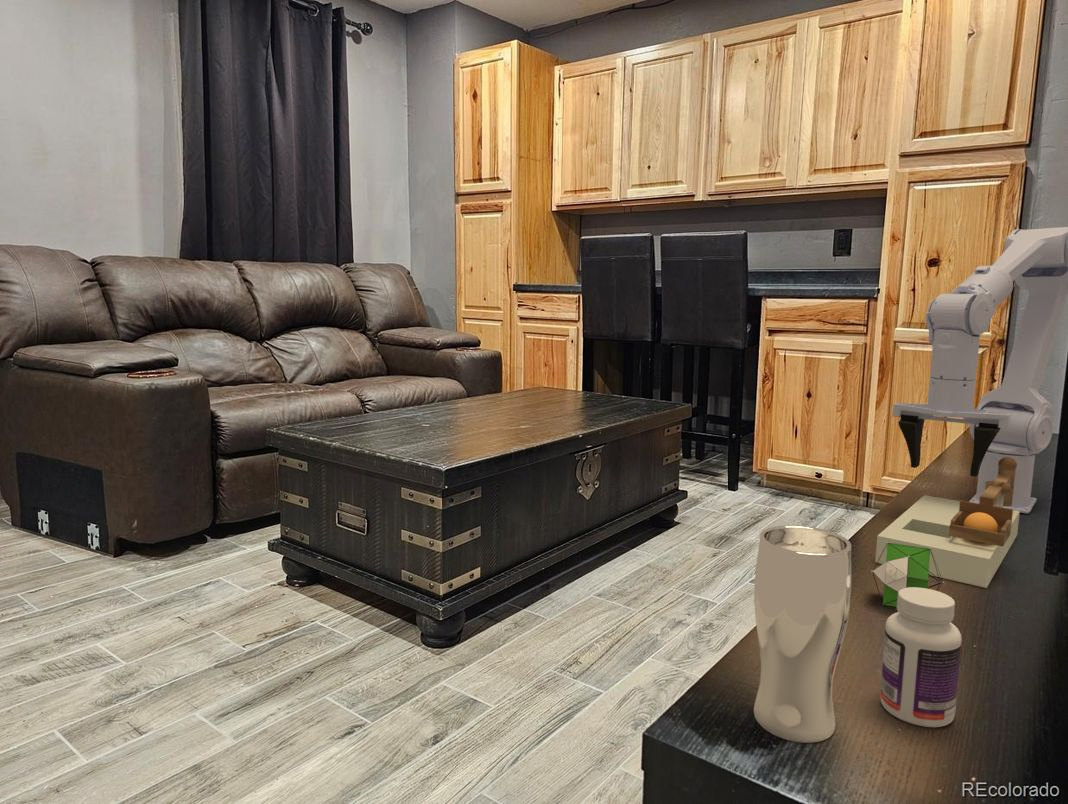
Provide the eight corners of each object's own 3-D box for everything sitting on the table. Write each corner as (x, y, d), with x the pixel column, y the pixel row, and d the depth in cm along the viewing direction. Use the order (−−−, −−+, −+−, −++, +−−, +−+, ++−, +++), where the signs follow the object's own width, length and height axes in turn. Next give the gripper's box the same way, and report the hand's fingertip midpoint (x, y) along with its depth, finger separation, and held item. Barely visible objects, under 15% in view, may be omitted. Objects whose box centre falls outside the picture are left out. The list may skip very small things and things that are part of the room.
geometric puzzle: (873, 564, 84) (874, 523, 78) (940, 574, 81) (946, 532, 75) (868, 618, 79) (869, 579, 74) (938, 631, 76) (945, 591, 71)
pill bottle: (961, 708, 58) (972, 595, 57) (945, 738, 54) (957, 618, 53) (890, 684, 62) (899, 577, 60) (870, 711, 58) (879, 597, 57)
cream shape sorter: (922, 517, 108) (926, 471, 107) (1017, 535, 100) (1022, 485, 99) (875, 562, 90) (879, 507, 89) (986, 588, 82) (992, 527, 81)
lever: (981, 498, 103) (986, 452, 102) (1028, 506, 100) (1033, 458, 99) (948, 537, 87) (953, 483, 86) (1002, 548, 83) (1008, 491, 82)
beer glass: (850, 753, 53) (865, 558, 50) (752, 741, 54) (762, 551, 52) (831, 700, 59) (843, 527, 57) (744, 691, 61) (752, 521, 58)
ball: (965, 534, 90) (967, 506, 89) (998, 540, 88) (1001, 512, 87) (959, 541, 87) (961, 513, 87) (993, 548, 85) (996, 519, 84)
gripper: (890, 376, 104) (882, 467, 106) (1008, 385, 95) (997, 484, 97) (903, 372, 109) (896, 459, 111) (1016, 380, 100) (1006, 474, 102)
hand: (944, 470), depth 104 cm, fingers open, 7 cm apart
